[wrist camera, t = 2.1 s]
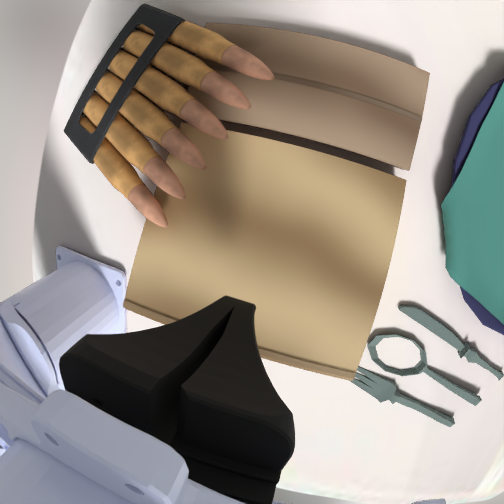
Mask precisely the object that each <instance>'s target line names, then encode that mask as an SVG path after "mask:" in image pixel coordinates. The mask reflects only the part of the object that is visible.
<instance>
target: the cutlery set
mask: <svg viewBox="0 0 504 504" xmlns="http://www.w3.org/2000/svg"><path fill="white" fill-rule="evenodd" d="M441 209H442V213H443V223H444V226H445V235H444V238H445V241H446V249H445V254H446V266H445V267H446V269H447V271H448V273H449V275H450V277H451V278H452V279H453V280H454V281H455V282H456V283H457V284H458V285H460V288H461V291H462V295H463V298H464V300H465V302H466V303H467V304H468V305H469V307H470V308H471V309H472V311H473V312H474V313H475V315H476V316H477V317H478V319H479V320H480V321H481V323H482V324H483V325H485V326H487V327H489V328H491V329H493V330H495V331H497V332H499V333H501V334H503V335H504V79H502V80H501V81H499V82H497V83H495V84H493V85H491V86H490V88H489V89H488V91H487V92H486V93H485V95H484V96H483V98H482V99H481V100H480V102H479V103H478V105H477V106H476V107H475V109H474V110H473V111H472V113H471V114H470V115H469V117H468V120H467V124H466V127H465V130H464V133H463V136H462V139H461V142H460V145H459V148H458V150H457V153H456V156H455V159H454V163H453V174H452V184H451V190H450V191H449V193H448V194H447V196H446V197H445V199H444V201H443V203H442V204H441ZM398 308H399V310H400V311H402V312H403V313H405V314H406V315H408V316H409V317H411V318H412V319H414V320H415V321H417V322H418V323H420V324H421V325H423V326H424V327H425V328H427V329H428V330H430V331H431V332H433V333H434V334H436V335H437V336H439V337H440V338H442V339H443V340H445V341H446V342H447V343H449V344H450V345H452V346H453V347H455V348H456V349H458V354H459V356H460V358H462V357H463V356H465V357H466V358H467V360H468V362H472V363H477V364H479V365H480V366H482V367H483V368H485V369H487V370H489V371H490V372H492V373H493V374H494V375H495V376H496V377H497V378H498V380H500V379H501V378H502V377H503V376H504V374H503V372H502V371H501V372H499V371H497V370H496V369H494V368H493V367H491V366H490V365H489V364H488V363H487V362H486V361H484V360H483V359H482V358H480V357H479V355H478V354H477V352H476V350H475V349H474V348H470V346H469V344H468V342H466V343H464V344H463V343H462V342H461V341H460V339H459V338H458V337H457V336H456V335H455V334H454V333H453V332H452V331H451V330H450V329H448V328H447V327H446V326H444V325H443V324H442V323H440V322H439V321H438V320H436V319H435V318H433V317H432V316H430V315H429V314H428V313H426V312H425V311H423V310H422V309H420V308H418V307H416V306H412V305H400V306H399V307H398ZM389 337H401V338H404V339H407V340H410V341H413V343H414V344H415V345H416V346H417V347H418V348H419V349H420V356H421V361H420V362H419V363H418V364H417V365H416V366H415V367H414V368H410V369H404V370H399V369H395V368H391V367H388V366H387V365H385V364H384V363H383V362H382V361H381V360H380V359H379V358H378V355H377V351H376V347H375V346H376V345H377V344H378V343H379V342H380V341H381V340H382V339H383V338H389ZM367 346H368V349H369V352H370V355H371V358H372V360H373V361H374V362H375V363H376V364H378V365H379V366H380V367H381V368H382V369H383V370H385V371H387V372H390V373H393V374H397V375H400V376H408V375H416V374H420V373H422V372H425V373H426V374H427V375H429V376H430V377H432V378H433V379H434V380H436V381H437V382H439V383H440V384H442V385H443V386H445V387H446V388H448V389H449V390H450V391H452V392H454V393H455V394H457V395H458V396H460V397H462V398H463V399H465V400H466V401H468V402H470V403H471V404H473V405H475V406H476V405H477V404H478V403H479V402H480V401H481V400H482V399H481V398H480V396H477V395H476V394H474V393H472V392H470V391H468V390H466V389H464V388H462V387H460V386H458V385H456V384H454V383H453V382H451V381H449V380H448V379H446V378H445V377H443V376H441V375H439V374H437V373H436V372H434V371H433V370H431V369H429V368H428V367H427V358H426V352H425V351H424V350H423V349H422V348H421V347H420V346H419V345H418V344H417V343H416V342H415V341H414V340H412V339H409V338H406V337H403V336H400V335H397V334H393V335H377V336H376V337H375V338H374V339H373V340H372V341H371V342H370V343H369V344H368V345H367ZM357 370H358V371H359V372H361V373H362V374H364V375H365V376H363V375H361V374H359V373H356V375H355V377H356V378H358V379H360V380H361V381H362V382H361V381H359V380H357V379H353V381H351V382H352V383H354V384H355V385H357V386H358V387H360V388H361V389H363V390H364V391H366V392H367V393H369V394H370V395H372V396H373V397H375V398H376V399H378V400H379V402H383V401H386V400H390V401H391V403H392V404H394V403H395V402H398V403H400V404H402V405H405V406H407V407H410V408H413V409H415V410H417V411H419V412H421V413H423V414H425V415H427V416H429V417H431V418H433V419H434V420H436V421H438V422H440V423H442V424H444V425H446V426H448V427H451V426H452V425H454V424H455V422H454V418H452V417H450V416H447V415H445V414H443V413H441V412H439V411H437V410H435V409H433V408H431V407H429V406H427V405H425V404H423V403H421V402H419V401H416V400H414V399H412V398H409V397H407V396H404V395H402V394H400V392H399V390H396V389H397V387H396V383H395V382H393V381H391V380H388V379H386V378H384V377H381V376H379V375H377V374H375V373H372V372H370V371H368V370H366V369H363V368H361V367H359V366H358V368H357ZM366 376H367V377H366ZM349 381H350V380H349Z"/></svg>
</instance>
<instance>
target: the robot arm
mask: <svg viewBox="0 0 504 504" xmlns="http://www.w3.org/2000/svg"><path fill="white" fill-rule="evenodd" d="M60 256H61V257H60ZM56 263H57V270H56V271H54V272H52V273H50V274H49V275H47V276H45V277H43V278H42V279H40V280H38V281H36V282H35V283H33V284H31V285H29V286H28V287H26V288H25V289H23V290H21V291H19V292H18V293H16V294H14V295H13V296H11V297H9V298H8V299H6V300H5V301H3V302H0V504H291V503H285V502H279V501H274V500H273V497H274V493H275V488H276V484H277V483H278V482H279V479H280V474H281V470H282V469H283V468H284V466H285V465H286V464H287V462H288V461H289V459H290V458H291V457H292V454H293V452H294V448H295V429H294V421H293V414H292V412H291V411H290V410H289V408H288V407H287V406H286V405H285V403H284V402H283V401H282V400H281V398H280V397H279V395H278V393H277V392H276V390H275V389H274V387H273V385H272V383H271V381H270V379H269V377H268V375H267V373H266V371H265V368H264V366H263V363H262V360H261V357H260V354H259V350H258V345H257V341H256V335H255V325H254V315H255V311H256V306H255V304H253V303H249V302H246V301H243V300H240V299H236V298H233V297H230V296H227V295H225V296H223V297H222V298H220V299H218V300H217V301H215V302H213V303H212V304H210V305H208V306H206V307H205V308H203V309H201V310H199V311H197V312H195V313H193V314H191V315H189V316H187V317H185V318H183V319H180V320H178V321H175V322H173V323H170V324H166V325H163V326H160V327H156V328H152V329H147V330H142V331H137V332H130V333H126V308H123V301H124V300H125V295H126V275H125V273H124V272H123V271H122V270H119V269H117V268H114V267H112V266H109V265H107V264H104V263H101V262H99V261H96V260H94V259H91V258H89V257H87V256H84V255H82V254H79V253H77V252H74V251H72V250H70V249H67V248H65V247H63V246H58V247H57V248H56ZM119 281H120V282H121V284H120V283H119ZM412 504H446V501H445V499H433V500H422V501H417V502H414V503H412Z"/></svg>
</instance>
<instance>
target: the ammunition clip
mask: <svg viewBox="0 0 504 504" xmlns="http://www.w3.org/2000/svg"><path fill="white" fill-rule="evenodd" d="M166 41H168V42H170V43H172V45H171V44H169V43H167V42H166ZM185 50H187V51H189V52H191V53H194V54H196V55H198V56H200V57H202V58H204V59H207V60H212V61H216V62H218V63H220V64H222V65H225V66H228V67H229V68H231V69H233V70H235V71H238V72H240V73H243V74H245V75H248V76H251V77H254V78H258V79H262V80H273V79H274V75H273V73H272V72H271V70H270V69H269V68H268V67H267V66H266V65H265V64H264V63H263V62H262V61H261V60H259V59H258V58H257V57H255V56H254V55H252V54H251V53H249V52H247V51H246V50H244V49H242V48H240V47H238V46H237V45H235V44H233V43H231V42H229V41H228V40H226V39H225V38H224V37H223V36H221V35H219V34H218V33H216V32H213V31H211V30H208V29H206V28H203V27H201V26H198V25H196V24H193V23H190V22H188V21H185V20H184V19H182V18H180V17H178V16H175V15H173V14H170V13H168V12H165V11H163V10H160V9H158V8H155V7H152V6H150V5H147V4H143V5H141V6H140V7H139V8H138V9H137V11H136V12H135V13H134V15H133V16H132V17H131V18H130V20H129V21H128V22H127V24H126V25H125V26H124V28H123V29H122V31H121V32H120V33H119V35H118V36H117V38H116V39H115V41H114V42H113V43H112V45H111V46H110V48H109V49H108V51H107V52H106V54H105V56H104V57H103V59H102V60H101V62H100V64H99V65H98V67H97V68H96V70H95V72H94V73H93V75H92V77H91V79H90V80H89V82H88V84H87V86H86V87H85V89H84V91H83V93H82V95H81V97H80V98H79V100H78V102H77V104H76V106H75V108H74V110H73V112H72V114H71V116H70V118H69V120H68V122H67V125H66V127H65V129H64V132H65V134H66V135H67V136H68V137H69V138H70V140H71V141H72V142H73V143H74V145H75V146H76V147H77V148H78V150H79V151H80V152H81V153H82V154H83V156H84V157H85V158H86V159H87V160H88V162H89V163H92V164H94V163H95V164H96V165H97V167H98V168H99V169H100V170H101V172H102V173H103V174H104V176H105V177H106V178H107V179H108V181H109V182H110V183H111V184H112V185H113V186H114V188H116V189H117V190H118V191H120V192H121V193H122V194H123V195H124V196H125V197H126V198H127V199H128V200H129V201H130V202H131V203H132V204H133V205H134V206H135V207H136V209H137V210H138V211H140V212H141V213H142V214H143V215H144V216H145V217H146V218H148V219H149V220H150V221H152V222H154V223H155V224H157V225H159V226H161V227H165V228H166V227H167V226H168V222H167V218H166V216H165V213H164V211H163V209H162V208H161V206H160V204H159V203H158V201H157V200H156V198H155V197H154V196H153V194H152V193H151V192H150V191H149V189H148V188H147V187H146V185H145V184H144V183H143V182H142V180H141V179H140V178H139V176H138V174H137V172H136V170H135V169H134V167H133V166H132V165H134V166H136V167H137V168H138V169H139V170H140V171H141V172H143V173H144V174H145V175H146V176H147V177H148V178H149V179H150V180H151V181H152V182H153V183H155V184H156V185H157V186H158V187H159V188H161V189H162V190H164V191H165V192H167V193H168V194H170V195H172V196H174V197H176V198H179V199H186V193H185V190H184V188H183V186H182V184H181V182H180V180H179V179H178V177H177V176H176V174H175V173H174V172H173V170H172V169H171V168H170V167H169V165H168V164H167V163H166V162H165V161H164V160H163V159H162V158H161V157H160V155H159V154H158V153H157V152H156V151H155V150H154V149H153V147H152V145H151V144H150V142H149V141H148V140H147V139H146V138H145V137H144V136H143V135H142V134H141V133H140V132H139V131H141V132H142V133H143V134H144V135H145V136H147V137H149V138H151V139H153V140H155V141H156V142H157V143H158V144H160V145H161V146H162V147H164V148H165V149H166V150H167V151H169V152H170V153H171V154H172V155H174V156H175V157H177V158H178V159H179V160H181V161H183V162H185V163H186V164H188V165H191V166H193V167H195V168H198V169H203V170H204V169H206V167H207V166H206V163H205V160H204V158H203V156H202V154H201V153H200V151H199V150H198V148H197V147H196V146H195V144H194V143H193V142H192V141H191V140H190V139H189V138H188V137H187V136H186V135H185V134H184V133H182V132H181V131H180V130H179V128H178V127H177V126H175V125H174V124H173V123H172V122H171V120H170V119H169V118H168V116H167V115H166V114H165V113H164V112H163V111H162V110H160V109H159V108H158V107H157V106H155V105H154V104H153V103H151V102H150V100H152V101H153V102H154V103H156V104H157V105H158V106H160V107H161V108H162V109H164V110H166V111H168V112H170V113H173V114H175V115H176V116H178V117H179V118H181V119H182V120H185V121H186V122H187V123H189V124H190V125H191V126H193V127H194V128H196V129H198V130H200V131H201V132H203V133H205V134H208V135H210V136H213V137H215V138H219V139H227V138H228V133H227V131H226V129H225V127H224V126H223V124H222V123H221V122H220V121H219V119H218V118H217V117H216V116H215V115H214V114H213V113H212V112H211V111H210V110H209V109H208V108H206V107H205V106H204V105H203V104H201V103H200V102H199V101H198V100H197V99H195V98H194V97H193V96H191V95H190V94H189V93H188V92H187V91H186V89H185V88H184V87H183V86H181V85H180V84H179V83H177V82H176V81H174V80H172V79H171V78H169V77H168V76H166V75H167V74H168V75H170V76H171V77H173V78H175V79H176V80H178V81H179V82H181V83H183V84H186V85H189V86H193V87H195V88H196V89H198V90H200V91H202V92H205V93H206V94H208V95H209V96H211V97H213V98H215V99H217V100H219V101H221V102H223V103H225V104H228V105H231V106H234V107H237V108H241V109H250V108H251V104H250V102H249V100H248V99H247V97H246V96H245V95H244V94H243V93H242V91H241V90H240V89H239V88H238V87H237V86H236V85H234V84H233V83H232V82H231V81H229V80H228V79H226V78H225V77H223V76H222V75H220V74H218V73H217V72H216V71H214V70H213V69H211V68H210V67H208V66H207V65H206V64H205V63H204V62H203V61H202V60H201V59H199V58H197V57H195V56H193V55H191V54H189V53H187V52H185ZM138 58H139V59H138ZM149 64H151V65H153V66H154V67H156V68H157V69H155V68H153V67H152V66H150V65H149ZM123 80H124V81H123ZM133 87H134V88H135V89H137V90H138V91H139V92H141V93H139V92H137V91H136V90H135V89H133ZM119 112H120V113H121V114H122V115H123V116H124V117H125V118H124V117H123V116H122V115H121V114H120V113H119ZM134 126H135V127H136V128H137V129H138V130H139V131H138V130H137V129H136V128H135V127H134ZM130 163H131V164H132V165H131V164H130Z"/></svg>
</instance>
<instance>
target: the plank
mask: <svg viewBox="0 0 504 504" xmlns="http://www.w3.org/2000/svg"><path fill="white" fill-rule="evenodd" d="M179 130H180V131H181V132H182V133H184V134H185V135H186V136H187V137H188V138H189V139H190V140H191V141H192V142H193V143H194V144H195V146H196V147H197V148H198V150H199V151H200V153H201V154H202V156H203V158H204V160H205V163H206V166H207V167H206V169H204V170H203V169H198V168H195V167H193V166H191V165H188V164H186V163H185V162H183V161H181V160H179V159H178V158H177V157H175V156H174V155H172V154H171V153H170V152H169V155H168V157H167V160H166V163H167V164H168V165H169V167H170V168H171V169H172V170H173V172H174V173H175V174H176V176H177V177H178V179H179V180H180V182H181V184H182V186H183V188H184V190H185V193H186V199H179V198H176V197H174V196H172V195H170V194H168V193H167V192H165V191H164V190H162V189H161V188H159V187H158V186H157V188H156V191H155V194H154V197H155V198H156V200H157V201H158V203H159V204H160V206H161V208H162V209H163V211H164V213H165V216H166V218H167V222H168V226H167V227H166V228H165V227H161V226H159V225H157V224H155V223H154V222H152V221H150V220H149V219H148V218H146V222H145V225H144V228H143V231H142V235H141V238H140V242H139V245H138V249H137V252H136V256H135V260H134V263H133V267H132V271H131V275H130V279H129V283H128V287H127V291H126V295H125V300H124V301H123V308H126V309H128V310H130V311H133V312H135V313H137V314H140V315H142V316H145V317H147V318H150V319H152V320H155V321H157V322H160V323H162V324H165V325H166V324H170V323H173V322H175V321H178V320H180V319H183V318H185V317H187V316H189V315H191V314H193V313H195V312H197V311H199V310H201V309H203V308H205V307H206V306H208V305H210V304H212V303H213V302H215V301H217V300H218V299H220V298H222V297H223V296H225V295H227V296H230V297H233V298H236V299H240V300H243V301H246V302H249V303H253V304H255V306H256V311H255V315H254V325H255V335H256V341H257V345H258V350H259V354H260V357H261V358H265V359H268V360H271V361H275V362H278V363H282V364H286V365H289V366H293V367H297V368H300V369H304V370H308V371H312V372H316V373H320V374H324V375H328V376H333V377H337V378H341V379H346V380H350V381H353V379H354V377H355V375H356V371H357V368H358V365H359V363H360V360H361V357H362V355H363V352H364V349H365V346H366V343H367V340H368V337H369V334H370V331H371V328H372V325H373V322H374V319H375V315H376V312H377V309H378V306H379V302H380V299H381V295H382V292H383V288H384V284H385V281H386V277H387V273H388V269H389V265H390V261H391V257H392V252H393V248H394V244H395V239H396V234H397V230H398V225H399V220H400V214H401V209H402V203H403V198H404V192H405V185H406V180H405V179H402V178H399V177H397V176H394V175H391V174H388V173H385V172H383V171H380V170H377V169H374V168H371V167H368V166H365V165H362V164H359V163H355V162H352V161H349V160H346V159H343V158H339V157H336V156H333V155H329V154H326V153H322V152H319V151H315V150H311V149H308V148H304V147H300V146H296V145H292V144H288V143H284V142H280V141H276V140H271V139H267V138H263V137H258V136H253V135H249V134H244V133H239V132H234V131H229V130H226V131H227V133H228V138H227V139H219V138H215V137H213V136H210V135H208V134H205V133H203V132H201V131H200V130H198V129H196V128H194V127H193V126H191V125H190V124H187V123H181V124H180V127H179Z"/></svg>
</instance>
